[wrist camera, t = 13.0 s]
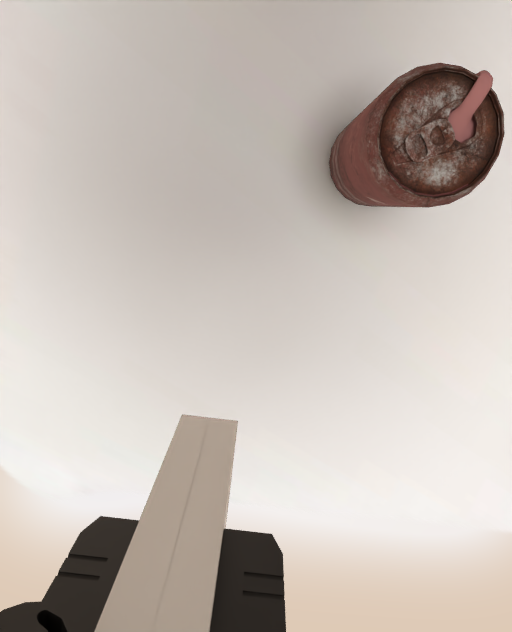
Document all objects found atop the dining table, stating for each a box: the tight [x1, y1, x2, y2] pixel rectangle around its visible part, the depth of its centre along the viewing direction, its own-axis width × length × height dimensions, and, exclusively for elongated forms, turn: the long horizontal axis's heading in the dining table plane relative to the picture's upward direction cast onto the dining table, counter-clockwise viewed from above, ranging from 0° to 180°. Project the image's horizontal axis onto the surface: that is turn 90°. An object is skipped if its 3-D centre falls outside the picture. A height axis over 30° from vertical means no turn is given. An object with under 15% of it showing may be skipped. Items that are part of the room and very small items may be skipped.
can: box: [329, 63, 504, 207], centre depth 27 cm, size 6×6×14 cm
